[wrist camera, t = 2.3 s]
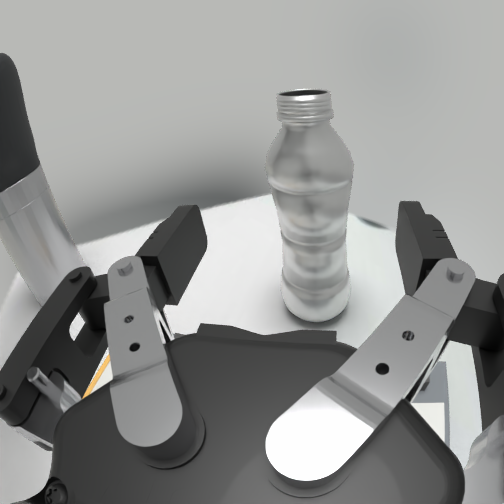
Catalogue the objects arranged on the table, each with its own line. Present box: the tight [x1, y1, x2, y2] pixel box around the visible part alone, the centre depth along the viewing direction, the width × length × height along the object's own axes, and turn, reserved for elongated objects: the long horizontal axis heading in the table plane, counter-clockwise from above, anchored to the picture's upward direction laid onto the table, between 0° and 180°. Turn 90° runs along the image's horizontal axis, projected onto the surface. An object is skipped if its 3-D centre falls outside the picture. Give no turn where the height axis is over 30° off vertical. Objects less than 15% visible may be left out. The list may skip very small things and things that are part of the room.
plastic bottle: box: [265, 89, 354, 322], centre depth 25 cm, size 6×7×20 cm
